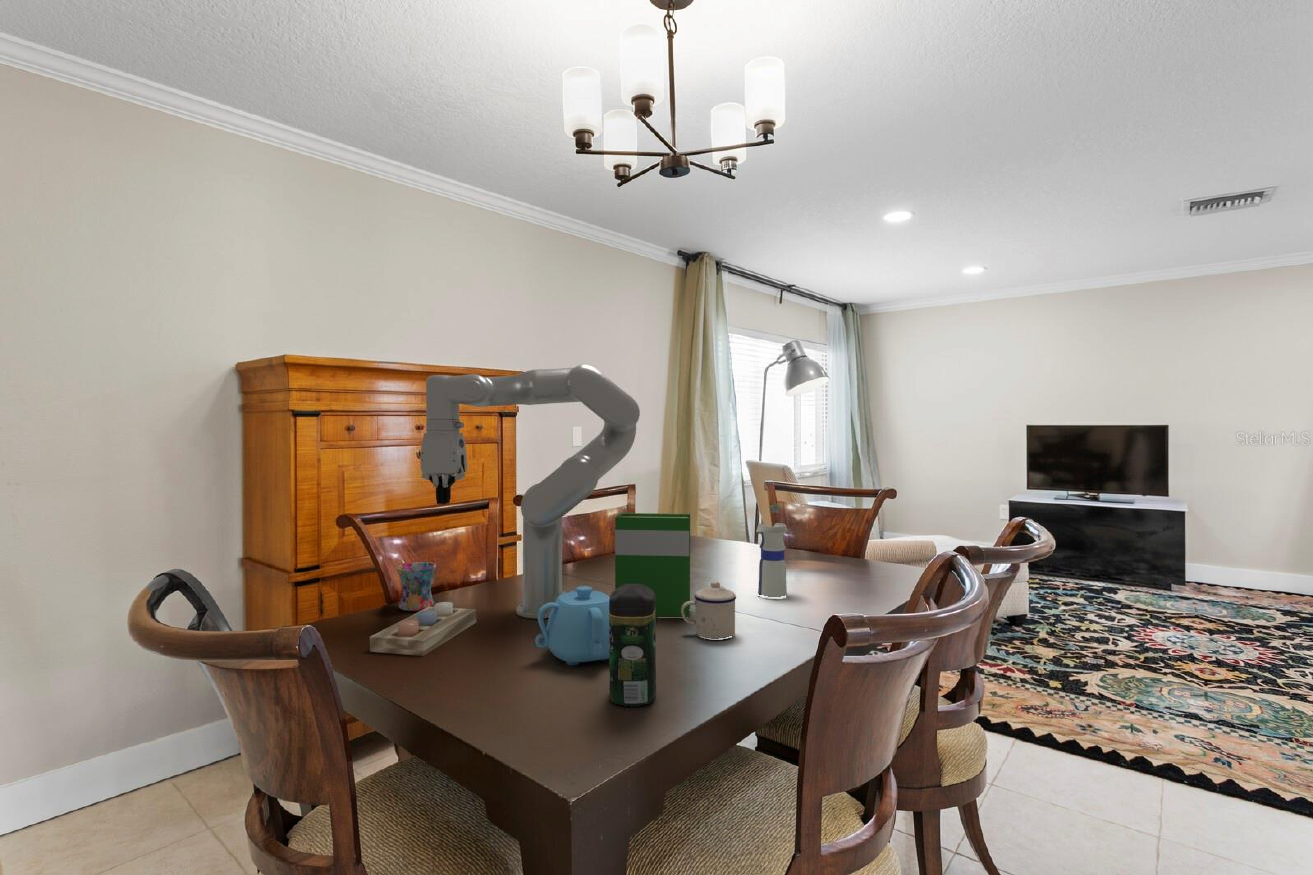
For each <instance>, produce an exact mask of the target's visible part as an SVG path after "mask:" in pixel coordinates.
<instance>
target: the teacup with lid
mask: <svg viewBox="0 0 1313 875" xmlns="http://www.w3.org/2000/svg"><path fill="white" fill-rule="evenodd" d="M694 599H695V600H690V601H688V602H685V603H684V604H683V605H682V608H681V614H682V617H683V619H682V620H684V621H685V622H686V624H690V625H694V626H695V628H694V629H695V632H696V633H695V635H696V634H697V635H698V636H702V637H705V638H711V639H719V638H726V637H729V636H733V635H734V634H735V635H736V599H737V596H736V592H734V591H732V590H730V589H727V588H725V587H724V586H723V585H722V586H721V583H720V581H716V580H715V581H714V580H713V581H711V582H710V585H708V586H705V588H701V589H698V590H697V591H695V594H694ZM688 605H690V606H695V617H694V618H695V620H693V619H690V618H689V619H688V618H687V617H686V615H685V613H684V609H685V607H686V606H688ZM697 635H696V636H697ZM735 635H734V636H735ZM698 636H697V637H698Z"/></svg>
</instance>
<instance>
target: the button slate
mask: <svg viewBox="0 0 1313 875" xmlns="http://www.w3.org/2000/svg"><path fill="white" fill-rule="evenodd" d="M421 611H422V610H421ZM418 612H419V613H418ZM418 612H416V613H417V621H418V626H433V625H434V624H436V623H437V618H436V611H422V612H420V611H418Z"/></svg>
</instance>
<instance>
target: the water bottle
mask: <svg viewBox="0 0 1313 875" xmlns="http://www.w3.org/2000/svg"><path fill="white" fill-rule="evenodd" d="M768 507H769V508H770V509H771V514H773V513H776V514H779V513H780V512H779V509H780V508H782V506H781V505H777V502H776V501H775V502H773V505H769V506H768ZM755 532H756V534H758V535H761V542H760V544H759V548H760V559H759V563H758V564H759V566H758V591H757V595H758V594H759V595H764V596H768V597H781V596H785V595H787V596H788V591H787V590H788V589H787V563H786V560H785V549H787V547H786V544H785V542H784V536H785V533H789V529H788V527H787V525H786V524H785V523H782V522H781V523H780V522H776V523H774V525H773V526H769V525H768V526H766V525H765V524H764V523H762V522H760V523H758V524H757V528H756V531H755Z"/></svg>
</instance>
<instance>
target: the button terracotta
mask: <svg viewBox="0 0 1313 875" xmlns="http://www.w3.org/2000/svg"><path fill="white" fill-rule="evenodd" d="M401 621H402V620H401ZM398 622H399V623H398ZM398 622H397V623H398V636H402V637H413V636H415V635H417V634H418V621H416V620H406V621H402V622H400V621H398Z"/></svg>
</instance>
